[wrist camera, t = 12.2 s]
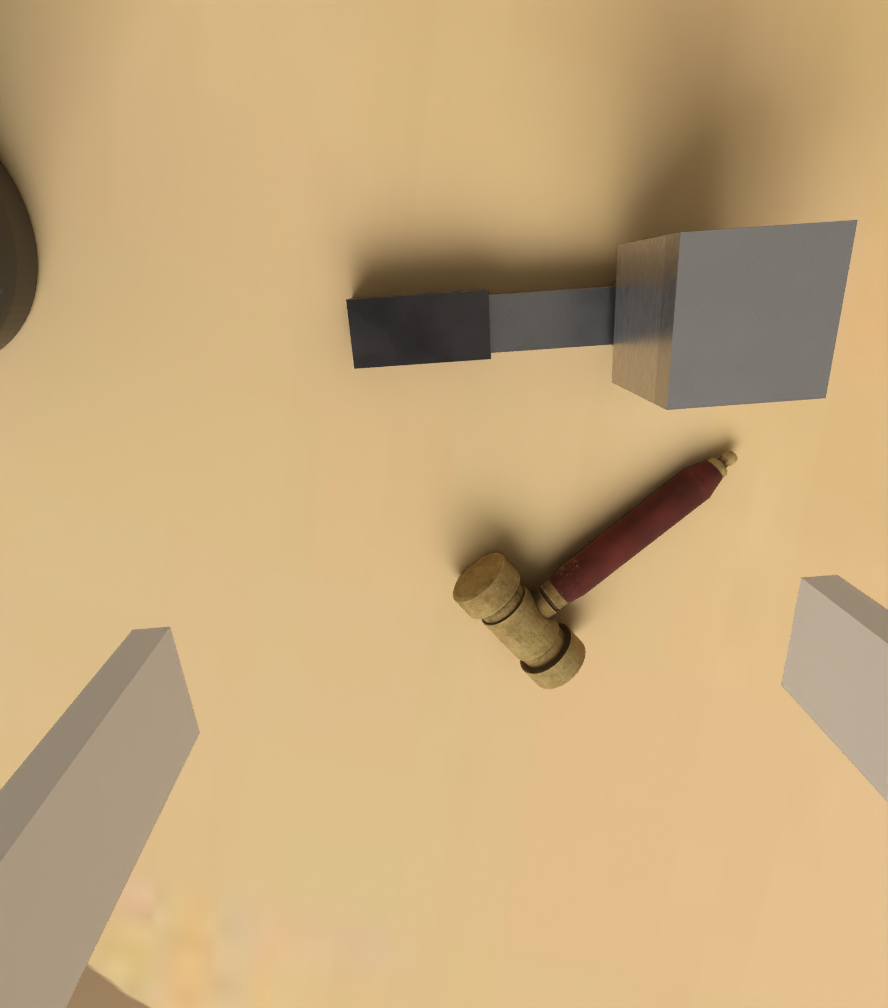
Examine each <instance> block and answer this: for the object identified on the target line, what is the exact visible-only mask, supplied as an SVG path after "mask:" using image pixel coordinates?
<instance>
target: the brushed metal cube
mask: <svg viewBox="0 0 888 1008" xmlns="http://www.w3.org/2000/svg"><path fill="white" fill-rule="evenodd" d="M856 225H857V220H851V221H836V222H821V223H807V224H792V225H778V226H763V227H748V228H734V229H719V230H705V231H690V232H679V233H674V234H669V235H664V236H659V237H654V238H649V239H644V240H639V241H634V242H629V243H624V244H619V245H618V252H617V275H616V299H615V323H614V346H613V370H612V383H614V384H616V385H618V386H620V387H622V388H624V389H626V390H628V391H630V392H632V393H634V394H636V395H638V396H640V397H642V398H644V399H646V400H648V401H650V402H652V403H654V404H656V405H658V406H660V407H662V408H664V409H666V410H671V409H685V408H698V407H712V406H725V405H739V404H752V403H766V402H779V401H793V400H807V399H820V398H826V393H827V387H828V381H829V376H830V370H831V365H832V359H833V353H834V348H835V342H836V337H837V331H838V326H839V320H840V314H841V309H842V303H843V298H844V292H845V287H846V281H847V275H848V270H849V264H850V259H851V253H852V247H853V242H854V236H855V231H856Z"/></svg>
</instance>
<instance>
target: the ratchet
mask: <svg viewBox="0 0 888 1008" xmlns="http://www.w3.org/2000/svg"><path fill="white" fill-rule="evenodd" d="M615 299H616V279H615V281H614V282H613V284H612V286H602V287H587V288H573V289H558V290H544V291H529V292H515V293H500V294H489V290H485V289H482V290H467V291H453V292H438V293H423V294H409V295H394V296H380V297H365V298H351V299H346V301H347V310H348V318H349V327H350V335H351V344H352V352H353V360H354V369H355V368H369V367H384V366H398V365H412V364H426V363H440V362H454V361H468V360H482V359H491V353H495V352H510V351H524V350H538V349H552V348H566V347H580V346H595V345H609V344H612V345H613V346H614V323H615Z"/></svg>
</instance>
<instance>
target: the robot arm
mask: <svg viewBox="0 0 888 1008" xmlns="http://www.w3.org/2000/svg"><path fill="white" fill-rule="evenodd" d="M36 283H37V253H36V245H35V240H34V235H33V231H32V227H31V223H30V220H29V217H28V214H27V211H26V209H25V206H24V204H23V201H22V199H21V197H20V195H19V193H18V191H17V189H16V187H15V185H14V183H13V181H12V180H11V178H10V176H9V175H8V173H7V172H6V170H5V168H4V167H3V165H2V164H1V163H0V350H1V349H2V348H3V347H4V346H6V345H7V344H8V343H9V342H10V341H11V340H12V339H13V337H14V336H15V335H16V334H17V333H18V331H19V330H20V328H21V327H22V325H23V323H24V322H25V320H26V318H27V316H28V314H29V311H30V308H31V306H32V303H33V299H34V295H35V290H36ZM781 685H782V686H783V688H784V689H785V690H786V691H787V692H788V693H789V694H790V695H791V696H792V698H793V699H794V700H795V701H796V702H797V703H798V704H799V705H800V706H801V707H802V709H803V710H804V711H805V712H806V713H807V714H808V715H809V716H810V717H811V718H812V720H813V721H814V722H815V723H816V724H817V725H818V726H819V727H820V728H821V729H822V731H823V732H824V733H825V734H826V735H827V736H828V737H829V738H830V739H831V740H832V742H833V743H834V744H835V745H836V746H837V747H838V748H839V749H840V750H841V751H842V753H843V754H844V755H845V756H846V757H847V758H848V759H849V760H850V761H851V762H852V764H853V765H854V766H855V767H856V768H857V769H858V770H859V771H860V772H861V773H862V775H863V776H864V777H865V778H866V779H867V780H868V781H869V782H870V783H871V785H872V786H873V787H874V788H875V789H876V790H877V791H878V792H879V793H880V794H881V796H882V797H883V798H884V799H885V800H886V801H887V802H888V610H887V609H886V608H884V607H883V606H882V605H880V604H879V603H877V602H876V601H874V600H873V599H871V598H870V597H869V596H867V595H866V594H864V593H863V592H861V591H860V590H858V589H857V588H856V587H854V586H853V585H851V584H850V583H848V582H847V581H845V580H844V579H843V578H841V577H840V576H838V575H829V576H817V577H804V578H801V582H800V587H799V592H798V598H797V603H796V608H795V614H794V619H793V624H792V630H791V635H790V641H789V646H788V651H787V657H786V662H785V667H784V673H783V678H782V683H781ZM199 733H200V732H199V728H198V725H197V721H196V717H195V714H194V710H193V707H192V703H191V700H190V696H189V692H188V689H187V685H186V682H185V678H184V674H183V671H182V667H181V664H180V660H179V657H178V653H177V649H176V646H175V642H174V639H173V635H172V632H171V628H170V627H163V628H150V629H137V630H132V631H131V632H130V634H129V635H128V636H127V637H126V638H125V640H124V641H123V642H122V643H121V645H120V646H119V647H118V648H117V649H116V651H115V652H114V653H113V654H112V655H111V657H110V658H109V659H108V660H107V662H106V663H105V664H104V665H103V666H102V668H101V669H100V670H99V671H98V672H97V674H96V675H95V676H94V677H93V678H92V680H91V681H90V682H89V683H88V685H87V686H86V687H85V688H84V689H83V691H82V692H81V693H80V694H79V695H78V697H77V698H76V699H75V700H74V702H73V703H72V704H71V705H70V706H69V708H68V709H67V710H66V711H65V712H64V714H63V715H62V716H61V717H60V718H59V720H58V721H57V722H56V723H55V725H54V726H53V727H52V728H51V729H50V731H49V732H48V733H47V734H46V735H45V737H44V738H43V739H42V740H41V741H40V743H39V744H38V745H37V746H36V748H35V749H34V750H33V751H32V752H31V754H30V755H29V756H28V757H27V758H26V760H25V761H24V762H23V763H22V765H21V766H20V767H19V768H18V769H17V771H16V772H15V773H14V774H13V775H12V777H11V778H10V779H9V780H8V781H7V783H6V784H5V785H4V786H3V788H2V789H1V790H0V1008H66V1006H67V1004H68V1002H69V1000H70V998H71V996H72V993H73V992H74V990H75V988H76V985H77V983H78V981H79V979H80V977H81V975H82V973H83V971H84V969H85V967H86V965H87V963H88V961H89V959H90V957H91V955H92V953H93V951H94V948H95V946H96V944H97V942H98V940H99V938H100V936H101V934H102V932H103V930H104V928H105V926H106V924H107V922H108V920H109V918H110V916H111V914H112V911H113V909H114V907H115V905H116V903H117V901H118V899H119V897H120V895H121V893H122V891H123V889H124V887H125V885H126V883H127V881H128V879H129V877H130V875H131V872H132V870H133V868H134V866H135V864H136V862H137V860H138V858H139V856H140V854H141V852H142V850H143V848H144V846H145V844H146V842H147V840H148V838H149V835H150V833H151V831H152V829H153V827H154V825H155V823H156V821H157V819H158V817H159V815H160V813H161V811H162V809H163V807H164V805H165V803H166V801H167V798H168V796H169V794H170V792H171V790H172V788H173V786H174V784H175V782H176V780H177V778H178V776H179V774H180V772H181V770H182V768H183V766H184V764H185V761H186V759H187V757H188V755H189V753H190V751H191V749H192V747H193V745H194V743H195V741H196V739H197V737H198V735H199Z"/></svg>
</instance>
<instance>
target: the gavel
mask: <svg viewBox="0 0 888 1008" xmlns="http://www.w3.org/2000/svg"><path fill="white" fill-rule="evenodd" d="M736 461H737V456H736V454H735V453H734V452H732V451H731V450H729V451H725V452H724V453H722V455H721V457H720V458H719V459H716V458H709V459H708V460H707V461H705V462H702V463H699V464H697V465H694V466H691V467H689V468H686V469H684V470H682V471H681V472H680V473H679V474H677V475H676V476H675V477H673V478H672V479H671V480H670V481H668V482H667V483H666V484H665V485H663V486H662V487H661V488H659V489H658V490H657V491H656V492H654V493H653V494H652V495H651V496H649V497H648V498H647V499H646V500H644V501H643V502H642V503H640V504H639V505H638V506H637V507H635V508H634V509H633V510H632V511H630V512H629V513H628V514H627V515H625V516H624V517H623V518H621V519H620V520H619V521H618V522H616V523H615V524H614V525H613V526H611V527H610V528H609V529H608V530H606V531H605V532H604V533H602V534H601V535H600V536H599V537H597V538H596V539H595V540H594V541H592V542H591V543H590V544H589V545H587V546H586V547H585V548H583V549H582V550H581V551H580V552H578V553H577V554H576V555H575V556H573V557H572V558H571V559H570V560H568V561H567V562H566V563H564V564H563V565H562V566H561V567H560V568H559V569H558V570H557V571H556V572H555V573H554V575H553V576H552V577H551V578H550V579H549V580H548V581H546V582H545V583H544V584H543V585H541V587H542V588H541V589H539V588H537V589H536V590H534V591H533V592H532V593H531V592H530V591H529V590H528V589H527V588H526V587H525V586H524V584H522V583H519V582H520V575H519V573H518V571H517V570H516V569H515V568H514V567H513V566H512V565H511V564H510V562H509V561H508V560H507V559H506V558H505V557H504V556H503V555H502V554H501V553H491V554H487V555H485V556H482V557H481V558H480V559H478V560H477V561H476V562H475V563H473V564H472V565H471V566H469V567H468V568H467V569H466V570H465V571H464V572H463V573H462V574H461V576H460V577H459V579H458V580H457V582H456V585H455V587H454V591H453V598H454V600H455V601H456V602H457V603H458V604H459V605H460V606H461V607H462V608H463V609H464V610H465V611H466V612H467V613H468V614H469V615H470V616H471V617H472V618H474V619H482V622H483V623H484V624H485V625H486V626H487V627H488V628H489V629H490V630H491V631H492V632H493V633H494V634H495V635H496V637H497V638H498V639H499V640H500V641H501V642H502V643H503V644H504V645H505V646H506V647H507V648H508V649H509V650H510V651H511V652H512V653H513V654H514V655H515V656H516V657H517V658H518V659H519V660H520V664H521V667H522V669H523V670H524V671H525V672H526V673H527V674H528V675H529V676H530V677H531V678H532V680H533V681H534V682H535V683H536V684H537V685H539V686H540V687H542V688H544V689H553V688H557V687H559V686H562V685H564V684H565V683H567V682H568V681H569V680H571V679H572V678H573V677H574V676H575V675H576V674H577V672H578V671H579V669H580V668H581V666H582V664H583V662H584V659H585V647H584V644H583V643H582V642H581V641H580V640H579V639H578V637H577V636H576V635H575V634H574V633H573V632H572V631H571V630H570V629H569V627H568V626H566V625H565V624H561V623H558V622H557V621H556V619H555V618H554V617H553V615H554V614H556V613H557V611H556V610H557V609H558V608H559V609H561V608H563V607H564V606H565V605H567V604H568V603H570V602H571V601H573V600H575V599H577V598H579V597H581V596H583V595H584V594H586V593H587V592H588V591H590V590H591V589H592V588H593V587H595V586H596V585H597V584H599V583H600V582H601V581H603V580H604V579H605V578H606V577H608V576H609V575H610V574H612V573H613V572H614V571H615V570H617V569H618V568H619V567H621V566H622V565H623V564H624V563H626V562H627V561H628V560H630V559H631V558H632V557H633V556H635V555H636V554H637V553H639V552H640V551H641V550H643V549H644V548H645V547H646V546H648V545H649V544H650V543H652V542H653V541H654V540H655V539H657V538H658V537H659V536H661V535H662V534H663V533H664V532H666V531H667V530H668V529H670V528H671V527H672V526H674V525H675V524H676V523H677V522H679V521H680V520H681V519H683V518H684V517H685V516H686V515H688V514H689V513H690V512H692V511H693V510H694V509H695V508H697V507H698V506H699V505H701V504H702V503H703V502H704V501H706V500H707V499H708V498H710V496H711V495H712V493H713V492H714V490H715V489H716V487H717V486H718V484H719V483H720V481H721V480H722V478H723V477H725V476H726V474H727V469H726V467H728V466H731V465H733V464H734V463H735V462H736Z"/></svg>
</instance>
